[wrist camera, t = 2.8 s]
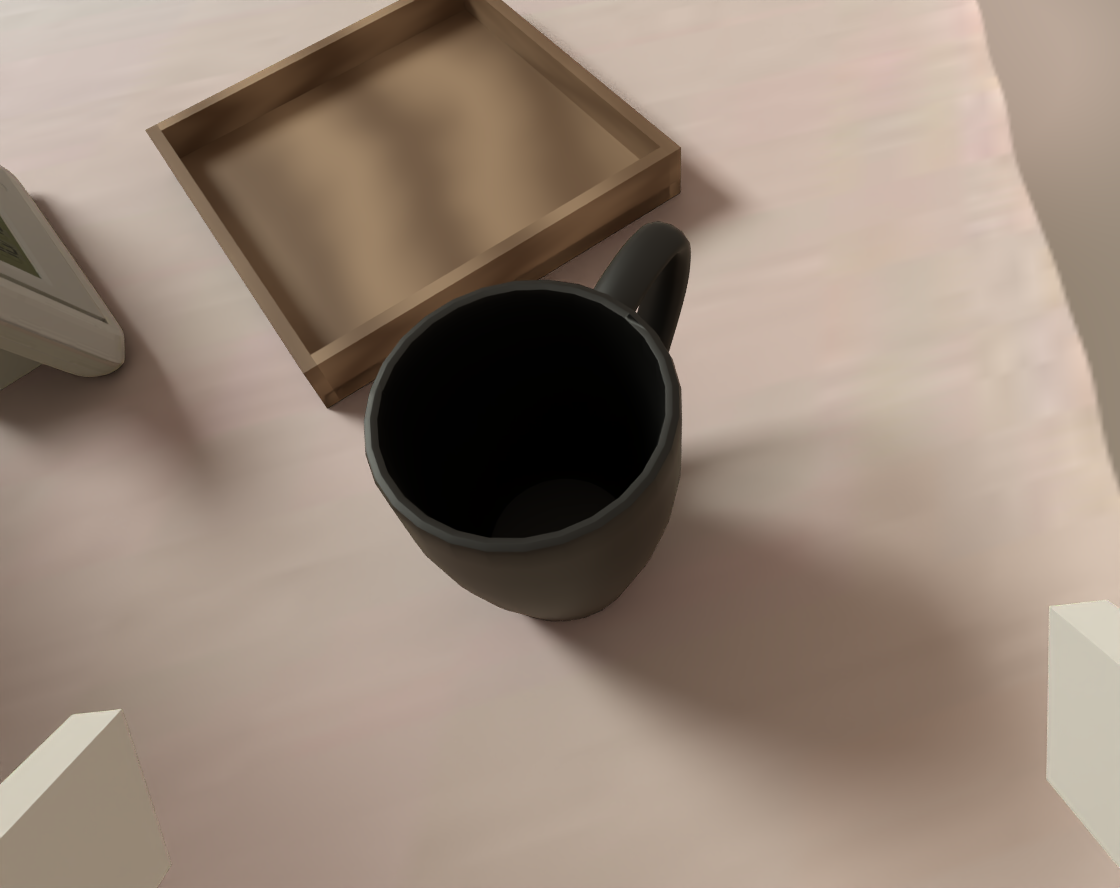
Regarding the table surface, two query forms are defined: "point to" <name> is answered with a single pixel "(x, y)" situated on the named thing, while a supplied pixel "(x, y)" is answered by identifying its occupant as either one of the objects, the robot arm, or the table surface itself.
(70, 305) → the digital clock
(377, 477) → the mug
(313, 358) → the walnut tray
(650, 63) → the table surface
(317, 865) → the table surface
